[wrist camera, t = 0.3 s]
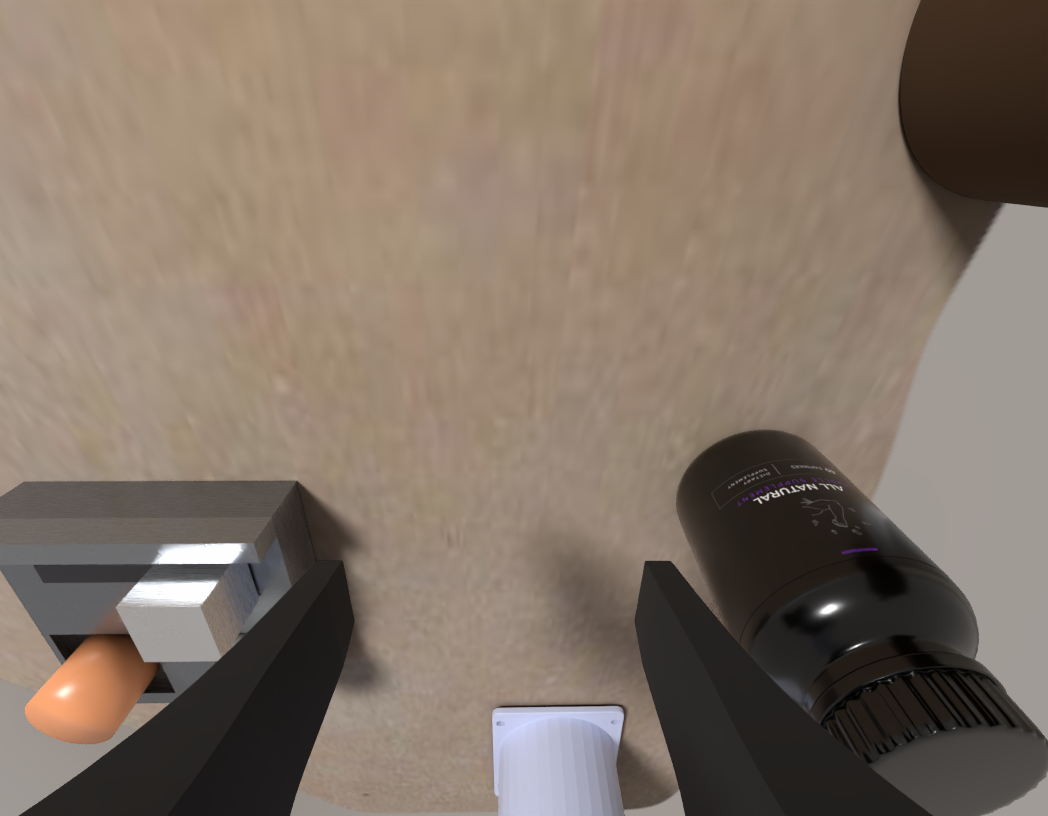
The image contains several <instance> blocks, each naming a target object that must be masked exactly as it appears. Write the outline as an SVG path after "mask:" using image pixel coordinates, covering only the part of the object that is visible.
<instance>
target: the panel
mask: <svg viewBox="0 0 1048 816" xmlns="http://www.w3.org/2000/svg"><path fill="white" fill-rule="evenodd" d="M315 562H316V559H315V555H314V551H313V546H312V542H311V538H310V534H309V530H308V526H307V522H306V518H305V514H304V510H303V506H302V502H301V498H300V494H299V490H298V486H297V481H149V482H23V483H21V484H20V485H18V486H17V487H15V488H14V489H12V490H11V491H9V492H8V493H6V494H5V495H3V496H1V497H0V570H1V572H2V573H3V575H4V576H5V578H6V580H7V581H8V583H9V584H10V586H11V587H12V589H13V590H14V592H15V593H16V595H17V597H18V598H19V600H20V601H21V603H22V604H23V606H24V607H25V609H26V610H27V612H28V613H29V615H30V617H31V618H32V620H33V621H34V623H35V624H36V626H37V627H38V629H39V630H40V632H41V634H42V635H43V637H44V638H45V640H46V641H47V643H48V644H49V646H50V647H51V649H52V650H53V652H54V654H55V655H56V657H57V658H58V660H59V661H60V663H61V664H62V665H63V664H64V662H65V661H66V660H67V659H68V658H69V657H70V656H71V655H72V654H73V652H74V651H75V650H76V649H77V648H78V647H79V646H80V645H81V644H82V642H83V641H84V640H85V639H86V638H88V637H90V636H92V635H94V634H129V632H128V630H127V628H126V626H125V624H124V623H123V621H122V619H121V617H120V615H119V613H118V611H117V609H116V606H117V605H118V604H119V603H120V602H121V601H122V600H123V598H124V597H125V596H126V595H127V594H128V593H129V592H130V591H131V590H132V588H133V587H134V586H135V585H136V584H137V583H138V582H139V581H140V580H141V578H142V577H143V576H144V575H145V574H146V573H147V572H148V571H149V570H150V568H151V567H152V566H153V565H154V564H214V563H247V564H248V567H249V570H250V573H251V576H252V579H253V582H254V585H255V588H256V591H257V594H258V597H259V600H258V602H257V604H256V606H255V607H254V609H253V611H252V612H251V614H250V616H249V618H248V619H247V621H246V623H245V624H244V626H243V628H242V630H241V631H240V633H239V634H242V633H247V632H248V631H249V630H250V629H251V628H252V627H253V626H254V625H255V624H256V623H257V622H258V621H259V620H260V619H261V618H262V617H263V616H264V615H265V614H266V613H267V612H268V611H269V610H270V609H271V608H272V607H273V606H274V605H275V604H276V603H277V601H278V600H279V599H280V598H281V597H282V596H283V595H284V594H285V593H286V592H287V591H288V590H289V589H290V588H291V587H292V586H293V585H294V583H295V582H296V581H297V580H298V579H299V578H300V577H301V576H302V575H303V574H304V573H305V572H306V571H307V570H308V569H309V568H310V566H311V565H312V564H313V563H315ZM216 662H217V661H200V662H160V669H159V671H158V672H157V674H156V675H155V677H154V678H153V680H152V681H151V682H150V684H149V685H148V687H147V688H146V690H145V691H144V692H143V694H142V695H141V697H140V698H139V700H138V701H137V702H136V703H171V702H172V701H174V700H175V699H176V698H177V697H178V696H179V695H181V694H182V693H183V692H184V691H185V690H186V689H187V688H189V687H190V686H191V685H192V684H193V683H194V682H195V681H196V680H198V679H199V678H200V677H201V676H202V675H203V674H204V673H205V672H206V671H207V670H208V669H210V668H211V667H212V666H213V665H214V664H215V663H216Z"/></svg>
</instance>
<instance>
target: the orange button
mask: <svg viewBox="0 0 1048 816" xmlns="http://www.w3.org/2000/svg"><path fill="white" fill-rule="evenodd" d="M159 669H160V662H144V660H143V659H142V657H141V655H140V653H139V651H138V649H137V647H136V645H135V643H134V642H133V640H132V638H131V637H130V636H127V635H123V634H94V635H92V636H90V637H88V638H86V639H85V640H84V641H83V642H82V644H81V645H80V646H79V647H78V648H77V649H76V650H75V651H74V652H73V654H72V655H71V656H70V657H69V658H68V659H67V660H66V661H65V662H64V664H63V665H62V666H61V667H60V668H59V669H58V670H57V671H56V672H55V674H54V675H53V676H52V677H51V678H50V679H49V680H48V681H47V682H46V683H45V685H44V686H43V687H42V688H41V689H40V690H39V691H38V692H37V693H36V695H35V696H34V697H33V698H32V699H31V700H30V701H29V702H28V704H27V705H26V707H25V714H26V717H27V719H28V720H29V722H30V723H31V724H32V725H33V726H34V727H35V728H37V729H38V730H40V731H41V732H43V733H45V734H46V735H48V736H51V737H53V738H55V739H58V740H62V741H65V742H70V743H76V744H96V743H101V742H104V741H107V740H108V739H110V738H111V737H112V736H113V735H114V734H115V732H116V731H117V730H118V728H119V727H120V725H121V724H122V722H123V721H124V720H125V718H126V717H127V715H128V714H129V712H130V711H131V710H132V708H133V707H134V705H135V704H136V702H137V701H138V700H139V698H140V697H141V695H142V694H143V692H144V691H145V690H146V688H147V687H148V685H149V684H150V682H151V681H152V680H153V678H154V677H155V675H156V674H157V672H158V671H159Z"/></svg>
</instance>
